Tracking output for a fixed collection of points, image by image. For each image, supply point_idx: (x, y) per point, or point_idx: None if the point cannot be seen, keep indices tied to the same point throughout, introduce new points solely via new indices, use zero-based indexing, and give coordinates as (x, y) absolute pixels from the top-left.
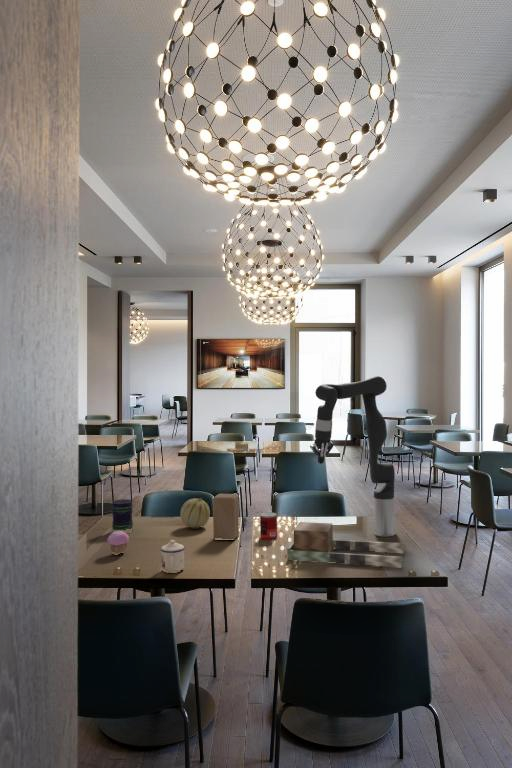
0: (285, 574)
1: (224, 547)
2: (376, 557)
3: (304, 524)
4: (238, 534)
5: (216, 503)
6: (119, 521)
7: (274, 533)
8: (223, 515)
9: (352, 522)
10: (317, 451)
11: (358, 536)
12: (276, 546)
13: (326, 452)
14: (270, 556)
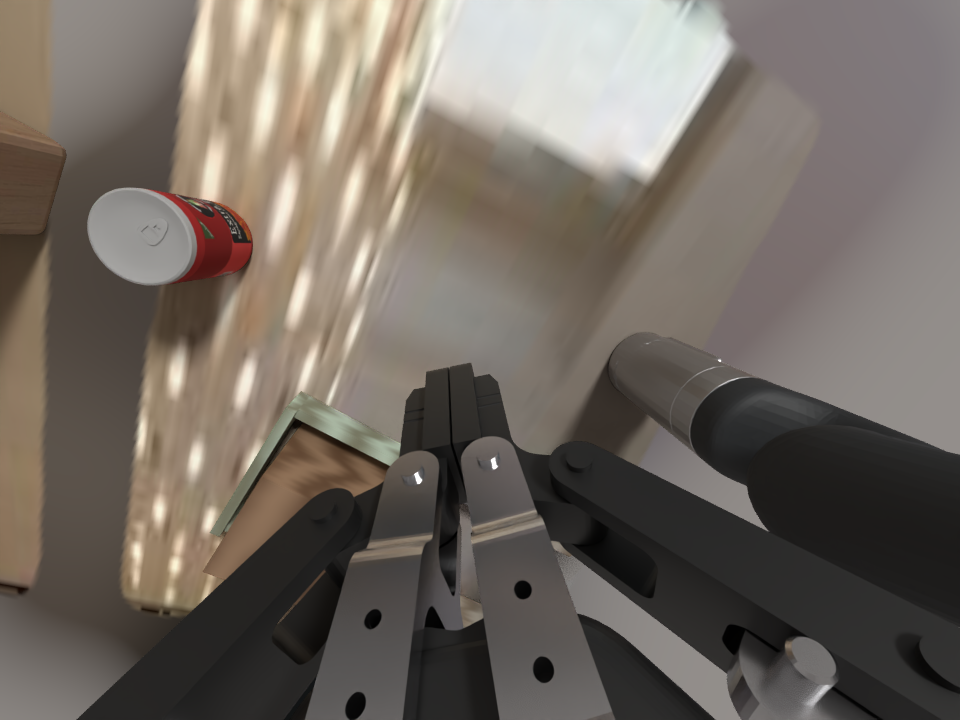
0: (202, 593)
1: (3, 303)
2: None
3: (268, 516)
4: (59, 162)
5: None
6: None
7: (224, 274)
8: None
9: (652, 149)
10: (307, 671)
11: (551, 353)
12: (226, 363)
13: (563, 544)
14: (184, 457)
